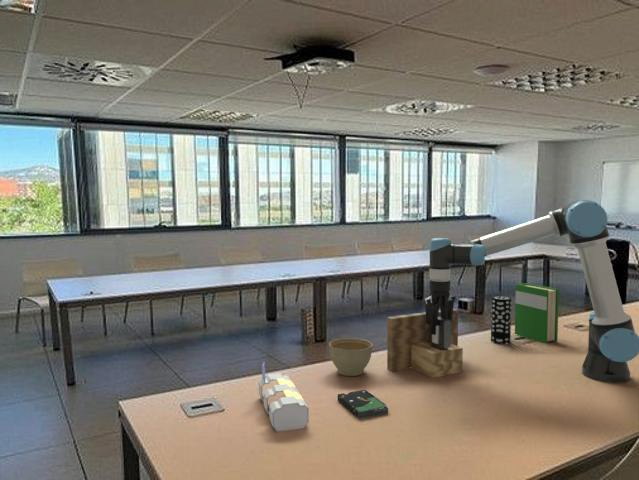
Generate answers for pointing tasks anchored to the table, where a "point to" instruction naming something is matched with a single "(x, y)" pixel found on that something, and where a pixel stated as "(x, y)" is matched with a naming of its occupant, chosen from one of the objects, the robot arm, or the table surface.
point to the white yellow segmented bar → (284, 403)
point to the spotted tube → (501, 320)
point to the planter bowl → (350, 355)
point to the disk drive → (362, 404)
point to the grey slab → (441, 334)
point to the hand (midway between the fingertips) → (439, 341)
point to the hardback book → (536, 312)
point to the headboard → (421, 346)
